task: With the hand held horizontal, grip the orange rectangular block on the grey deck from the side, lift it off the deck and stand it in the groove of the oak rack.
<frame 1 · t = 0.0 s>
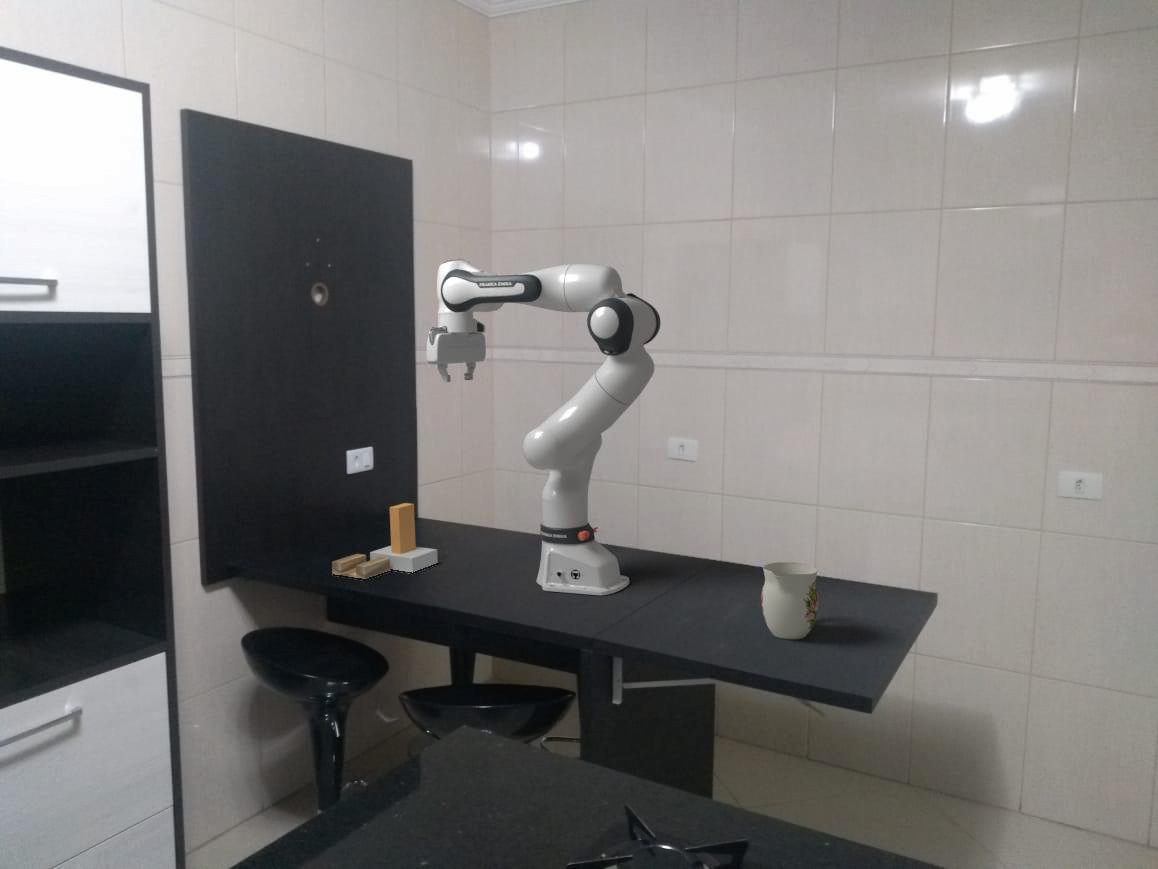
hand: (457, 381, 221), 48 cm above the table, tool pointing down, fingers open, 8 cm apart
deck: (404, 565, 228), on the table
orange rectangular block: (403, 550, 227), point 4 cm above the table, touching deck
rack: (361, 573, 221), on the table
pitcher: (790, 633, 174), on the table
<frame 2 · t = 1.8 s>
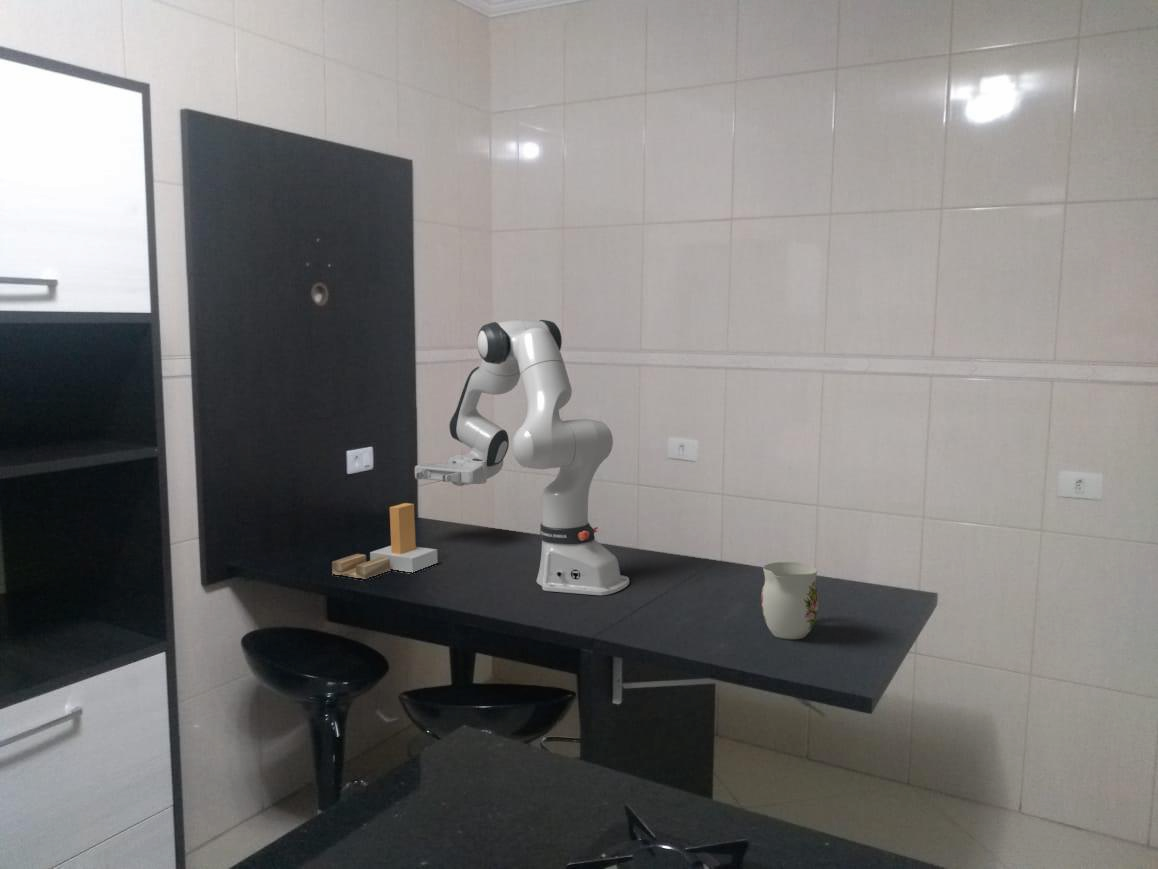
hand: (430, 477, 236), 21 cm above the table, tool horizontal, fingers open, 8 cm apart
nothing on the table moved.
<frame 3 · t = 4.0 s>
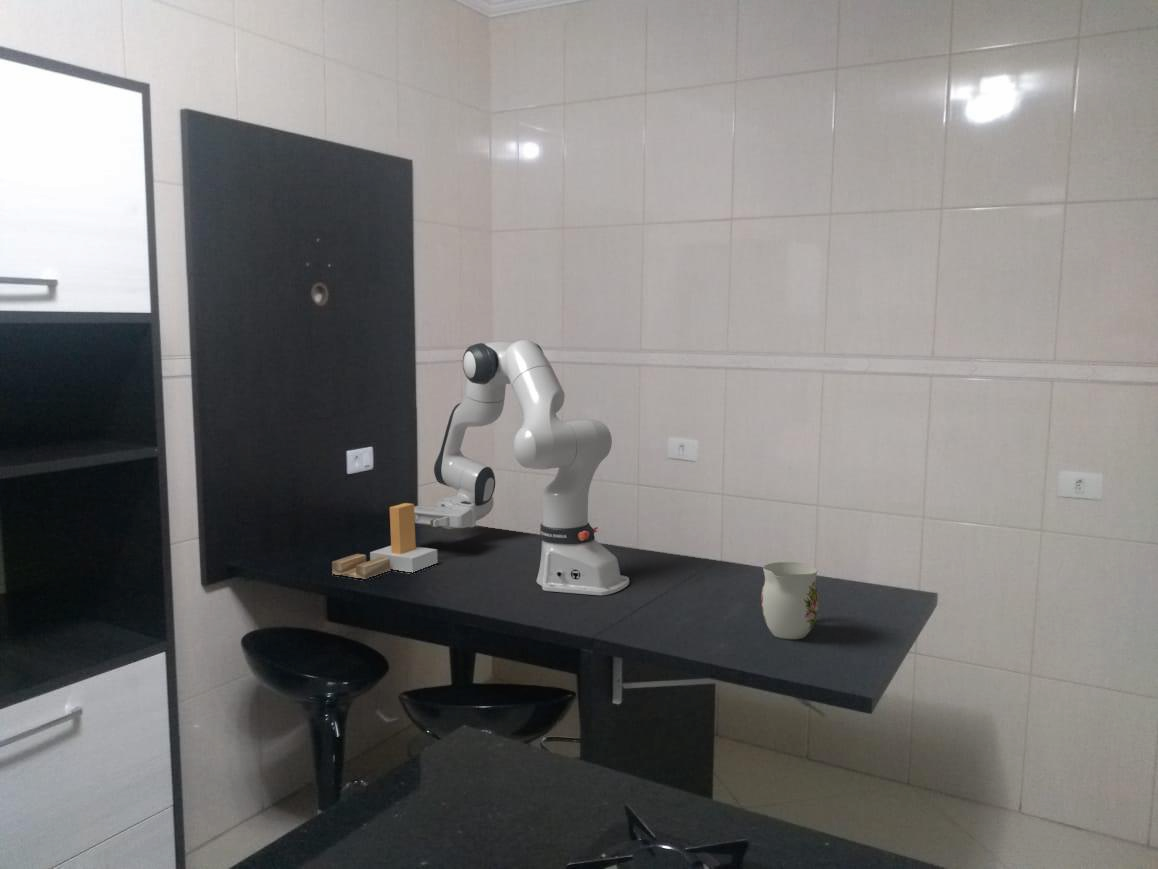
hand: (418, 522, 232), 10 cm above the table, tool horizontal, fingers open, 8 cm apart
nothing on the table moved.
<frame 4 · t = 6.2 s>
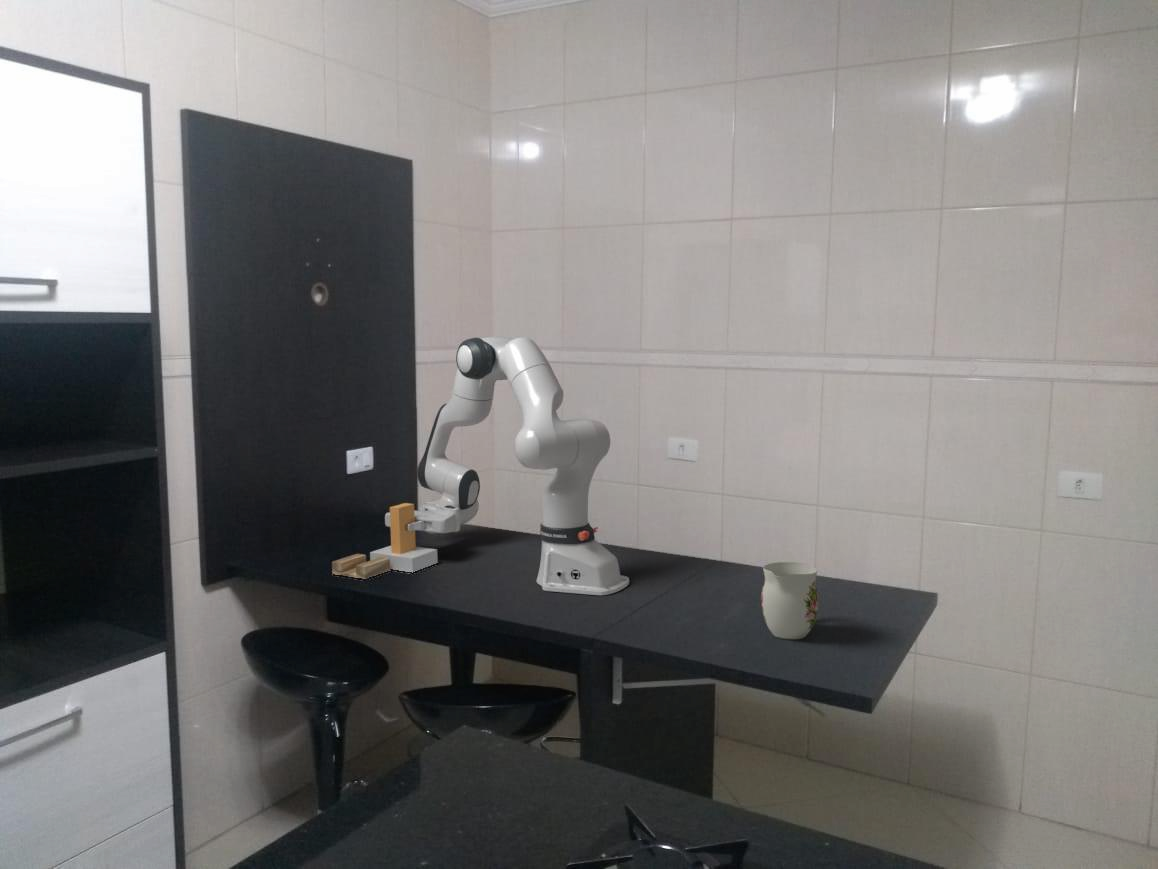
hand: (400, 527, 226), 11 cm above the table, tool horizontal, fingers closed on orange rectangular block, 3 cm apart
orange rectangular block: (403, 550, 227), point 4 cm above the table, touching deck, gripper
everything else where it was.
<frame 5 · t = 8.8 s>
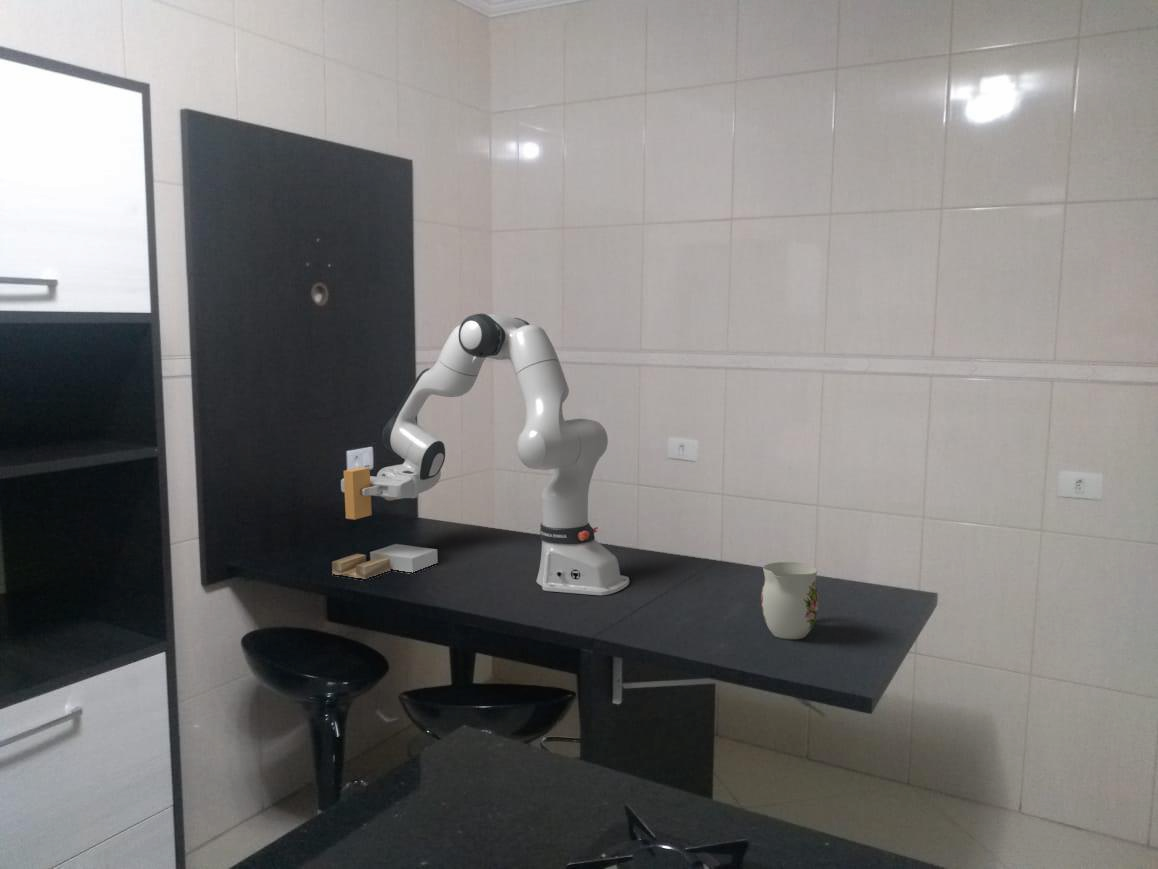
hand: (355, 491, 218), 21 cm above the table, tool horizontal, fingers closed on orange rectangular block, 3 cm apart
orange rectangular block: (358, 516, 219), point 15 cm above the table, touching gripper
everything else where it was.
when the fingers open (9 cm above the table, at t = 11.5 s): orange rectangular block drops 2 cm, resting on rack.
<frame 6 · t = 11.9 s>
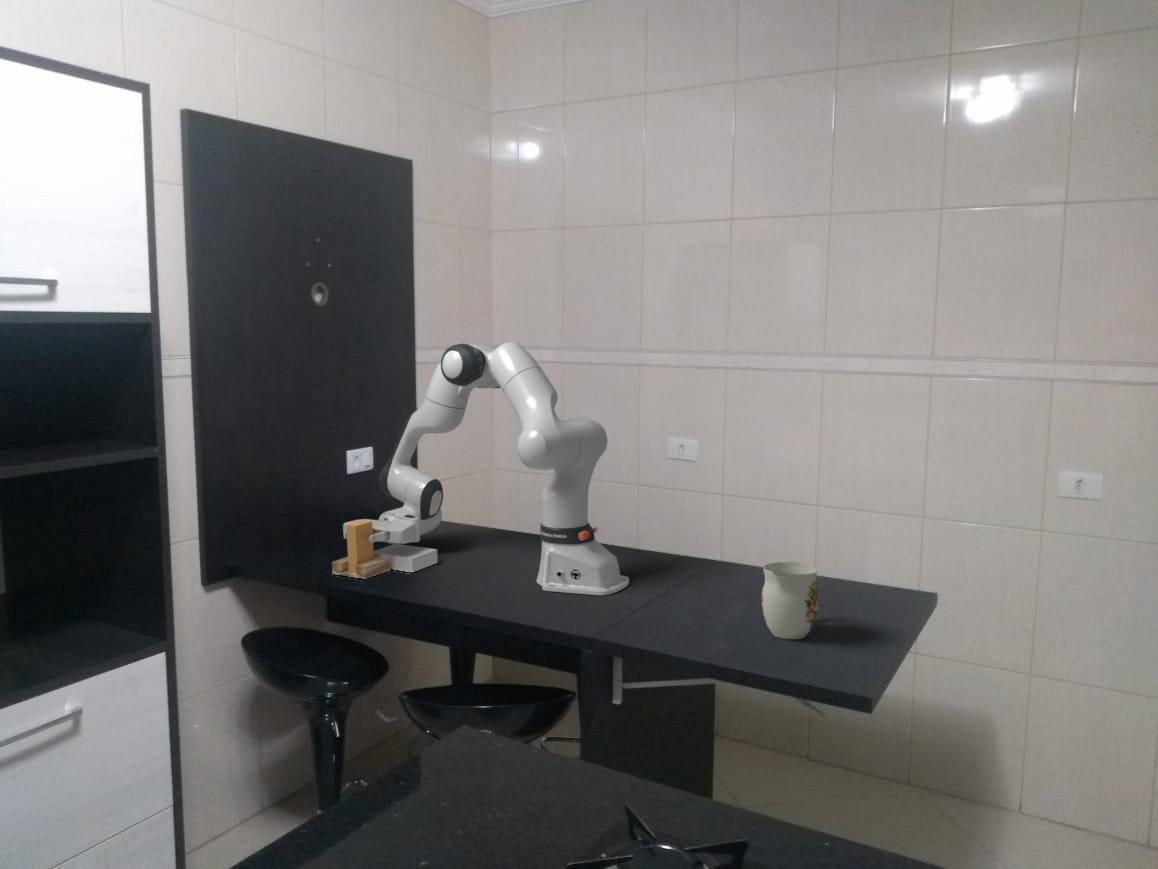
hand: (357, 537, 219), 9 cm above the table, tool horizontal, fingers open, 6 cm apart
orange rectangular block: (361, 569, 221), point 1 cm above the table, touching rack
everything else where it was.
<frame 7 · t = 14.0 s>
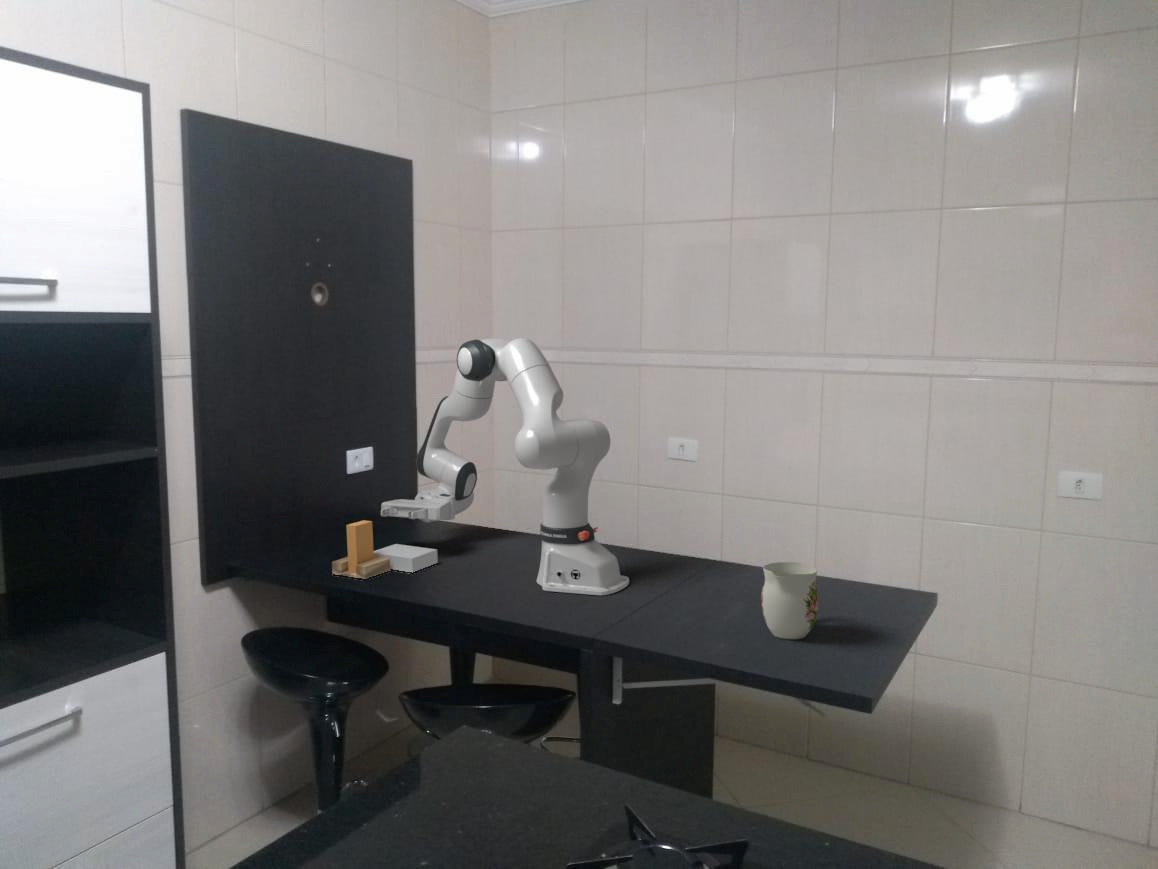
hand: (396, 514, 230), 13 cm above the table, tool horizontal, fingers open, 8 cm apart
nothing on the table moved.
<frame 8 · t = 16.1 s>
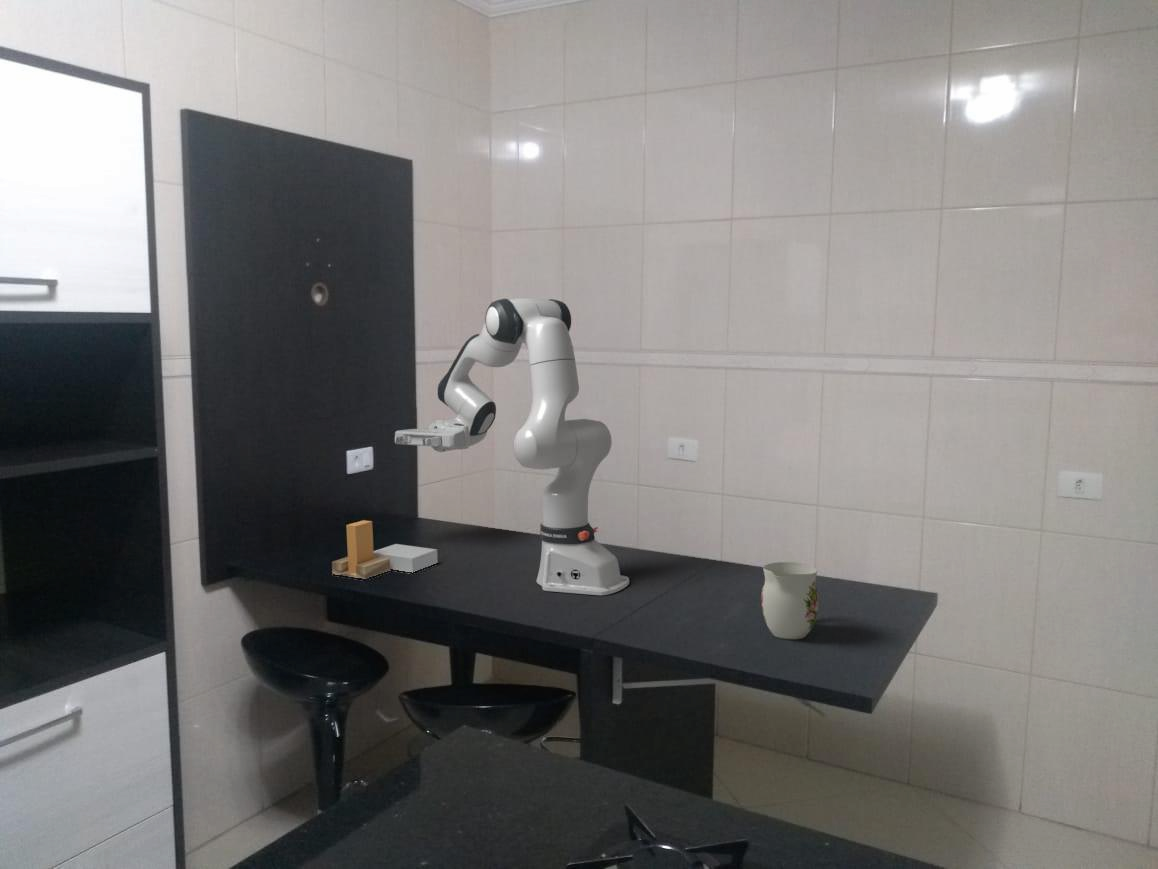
hand: (410, 441, 229), 32 cm above the table, tool horizontal, fingers open, 8 cm apart
nothing on the table moved.
at the end: orange rectangular block inside the target area on the rack (0.0 cm from its centre), point 1.0 cm above the rack's base; orange rectangular block tilted 0°; the gripper is holding nothing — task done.
